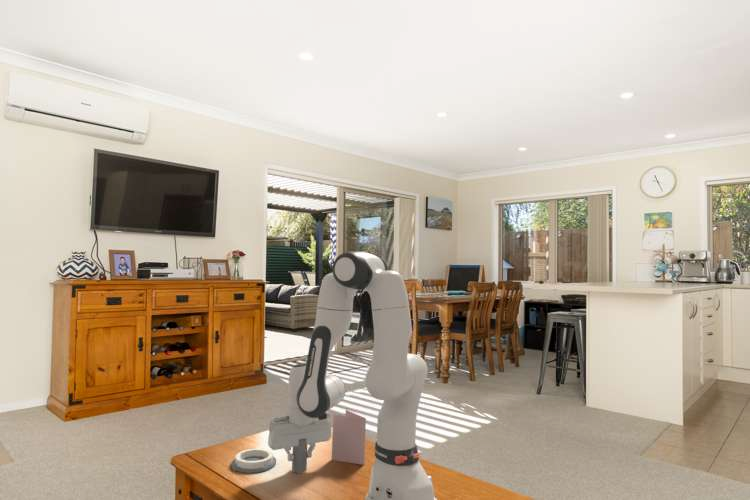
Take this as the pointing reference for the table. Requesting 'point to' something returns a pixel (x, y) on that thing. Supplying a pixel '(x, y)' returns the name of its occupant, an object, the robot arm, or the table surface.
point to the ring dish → (255, 458)
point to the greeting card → (348, 438)
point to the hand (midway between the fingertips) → (299, 458)
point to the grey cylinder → (300, 457)
